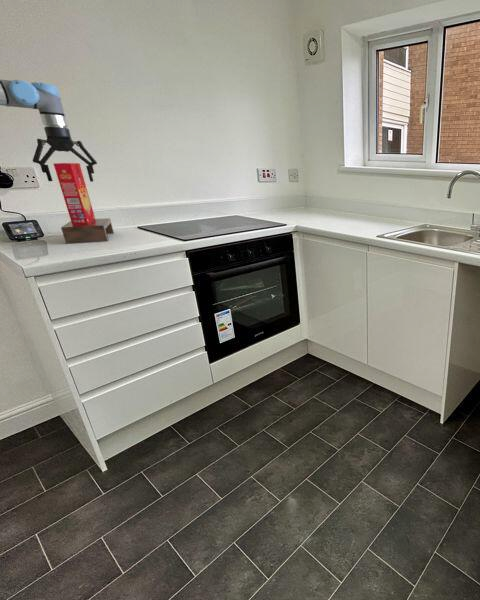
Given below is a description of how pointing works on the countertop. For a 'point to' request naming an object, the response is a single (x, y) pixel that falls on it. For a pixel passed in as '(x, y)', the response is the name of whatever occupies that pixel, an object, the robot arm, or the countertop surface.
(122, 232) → the countertop surface
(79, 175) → the food packaging
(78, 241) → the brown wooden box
